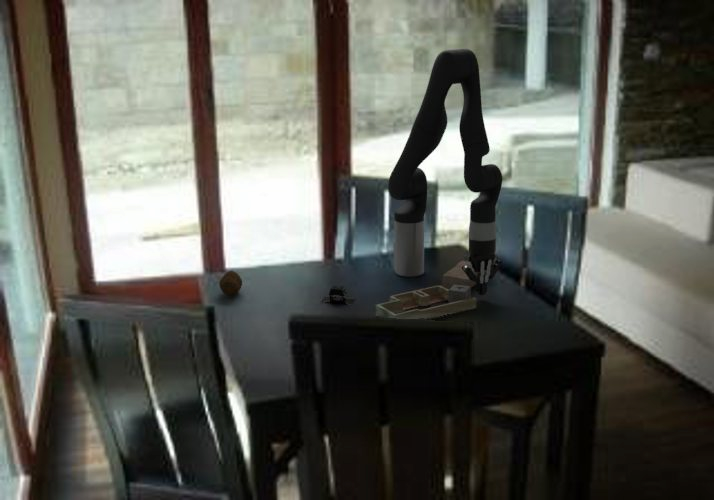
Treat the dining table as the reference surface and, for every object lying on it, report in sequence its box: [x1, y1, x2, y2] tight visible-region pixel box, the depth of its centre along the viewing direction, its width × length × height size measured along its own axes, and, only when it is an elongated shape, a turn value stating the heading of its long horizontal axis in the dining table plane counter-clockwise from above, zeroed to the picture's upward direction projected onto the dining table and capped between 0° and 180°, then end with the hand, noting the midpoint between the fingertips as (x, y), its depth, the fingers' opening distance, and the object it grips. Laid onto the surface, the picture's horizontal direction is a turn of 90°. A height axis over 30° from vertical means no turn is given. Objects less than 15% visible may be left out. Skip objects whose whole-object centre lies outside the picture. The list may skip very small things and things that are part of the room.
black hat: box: [320, 285, 357, 306], centre depth 237 cm, size 12×7×5 cm, turn 75°
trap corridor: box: [375, 284, 477, 319], centre depth 229 cm, size 15×27×4 cm, turn 120°
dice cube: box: [448, 285, 472, 303], centre depth 232 cm, size 5×5×5 cm
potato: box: [219, 270, 243, 298], centre depth 244 cm, size 7×12×7 cm, turn 9°
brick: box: [441, 260, 476, 289], centre depth 251 cm, size 17×8×5 cm, turn 151°
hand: (481, 294), depth 236 cm, fingers closed
